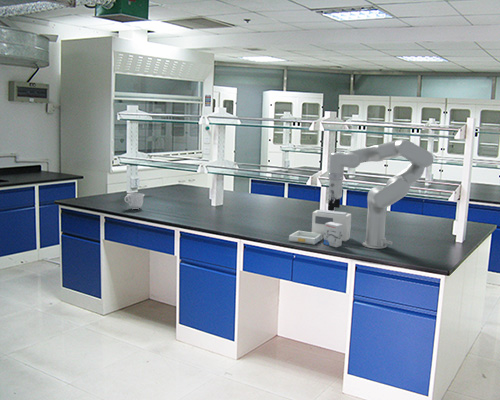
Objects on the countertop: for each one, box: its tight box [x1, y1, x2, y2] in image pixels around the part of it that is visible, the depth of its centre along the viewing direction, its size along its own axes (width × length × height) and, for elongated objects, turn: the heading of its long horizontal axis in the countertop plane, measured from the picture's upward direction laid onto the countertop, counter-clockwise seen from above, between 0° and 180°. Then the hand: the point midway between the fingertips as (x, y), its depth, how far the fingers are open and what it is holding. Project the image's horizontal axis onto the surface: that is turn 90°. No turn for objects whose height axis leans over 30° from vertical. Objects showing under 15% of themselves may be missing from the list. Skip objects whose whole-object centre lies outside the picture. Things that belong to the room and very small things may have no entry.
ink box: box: [323, 222, 343, 248], centre depth 276 cm, size 9×5×12 cm, turn 44°
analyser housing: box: [311, 209, 352, 242], centre depth 292 cm, size 20×9×15 cm, turn 64°
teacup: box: [124, 192, 145, 210], centre depth 358 cm, size 12×15×10 cm
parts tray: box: [288, 230, 324, 245], centre depth 286 cm, size 15×14×3 cm
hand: (333, 208), depth 274 cm, fingers open, 9 cm apart
